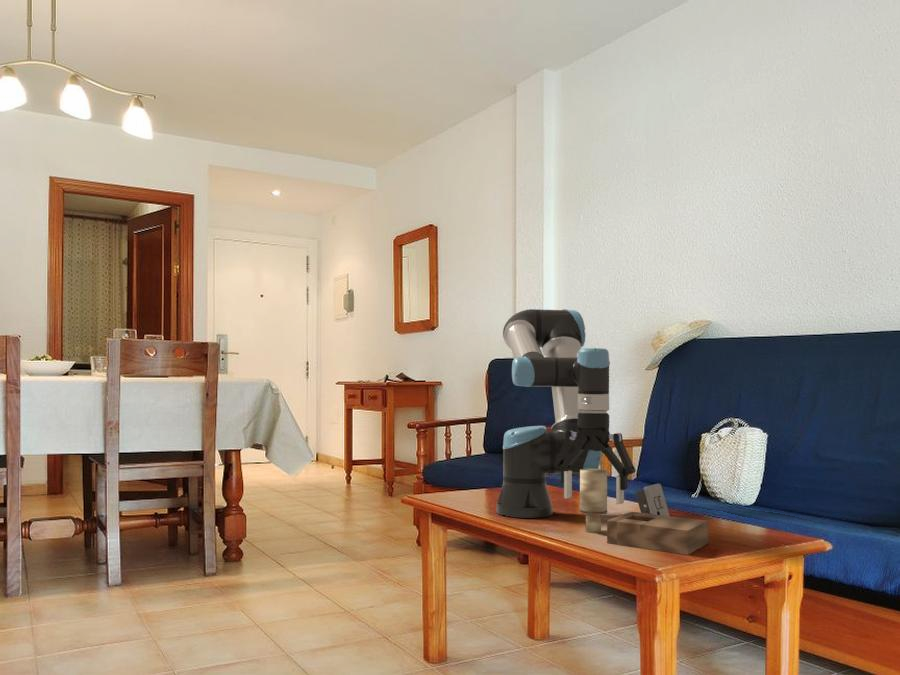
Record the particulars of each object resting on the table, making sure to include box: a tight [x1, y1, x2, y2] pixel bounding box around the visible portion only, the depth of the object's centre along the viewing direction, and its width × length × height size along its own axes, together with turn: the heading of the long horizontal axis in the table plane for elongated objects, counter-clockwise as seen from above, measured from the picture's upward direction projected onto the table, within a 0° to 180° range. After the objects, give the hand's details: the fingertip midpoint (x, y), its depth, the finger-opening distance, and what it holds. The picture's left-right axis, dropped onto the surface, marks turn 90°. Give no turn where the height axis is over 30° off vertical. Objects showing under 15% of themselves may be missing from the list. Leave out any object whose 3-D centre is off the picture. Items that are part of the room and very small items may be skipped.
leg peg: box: [579, 468, 608, 534], centre depth 177 cm, size 6×6×14 cm
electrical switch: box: [635, 483, 670, 516], centre depth 193 cm, size 9×5×9 cm, turn 141°
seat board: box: [606, 511, 709, 556], centre depth 165 cm, size 18×14×5 cm
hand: (593, 500), depth 177 cm, fingers open, 13 cm apart
